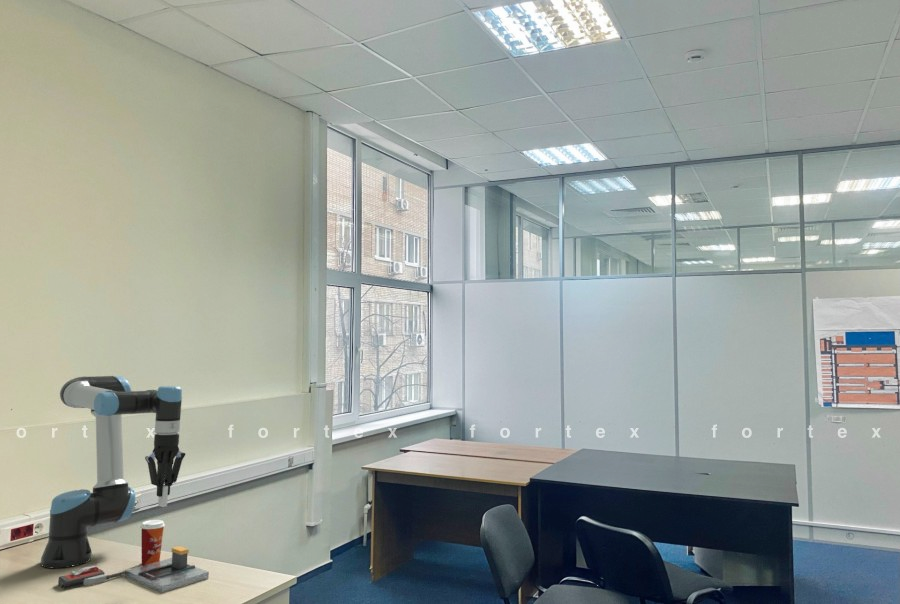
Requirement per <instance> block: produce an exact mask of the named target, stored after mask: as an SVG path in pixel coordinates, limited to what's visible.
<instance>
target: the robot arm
mask: <svg viewBox="0 0 900 604" xmlns="http://www.w3.org/2000/svg"><path fill="white" fill-rule="evenodd" d="M182 391H183V390H182V388H181V387H180V386H178V385H177V386H176V385H175V386H174V385H163V386H158V388H157V390H156V389H147V390H136V391H135V390H133V391H132V388H131V385H130V382H129V380H127V378H125V377H123V376H117V375H114V376H113V375H105V376H101V375H100V376H97V375H96V376H79V377H74V378H73V379H72V378H71V379H70V380H68V381H66V382H65V384H63V385H62V387H61V389H60V391H59V398H60V400H61V403H63V404H64V405H66V406H67V407H68V408H75V409H89V410H90V413H91V415H92V416H93V417H95V441H96V442H95V445H96V446H95V448H96V474H97V475H96V481H97V482H96V483H95V485H94V486H93V487H92V492H91V491H90V489H76V490H75V489H74V490H70V491H66V492H62V493H60V494H58V495H56V496H55V497H54V498H53V499H52V501H51V504H50V505H51V506H50V510H49V525H48V526H49V527H48V541H47V544H46V546H45V548H44V550H43V552H42V554H41V555H42V556H41V558H40V566H41V565H43V566H45V567H53V568H52V569H59V568H58V567H65V568H68V567H67V566H72V565H76V566H78V565H77V564H80V565H82V564H81V563H83V564H85V563H84V562H86V561H88V560H89V559H90V560H91V559H92V556H93V553H92V548H91V543H90V541H89V538H88V529H89V528H90V527H97V526H101V525H108V524H112V523H114V524H115V523H116V524H117V523H118V522H122V521H125V520H127V519H129V517H131V515H132V514H133V512H134V510H135V509H134V508H135V506H136V492H135V490H134V488H133V487H130V486H129V482H128V481H127V480H126V479H125V478H124V454H123V452H124V451H123V424H122V415H138V414H155V420H154V421H155V424H154V433H155V434H154V436H153V437H154V440H153V447H154V448H153V449H152V453H151V454H150V455H146V456H145V457H144V459H145V461H146V463H147V467H148V468H147V469H148V472H149V479H150V484H151V485H153V486H156V496H157V497H158V502H157V503H158V504H157V506H158V507H161V508H165V507H168V496H169V495H170V493H171V487H172V486H173V484H174V483H175V484H176V482H177V480H178V477H179V473H180V469H181V466H182V463H183V460H184V458H185V456H186V453H185V452H182V451H181V450H180V448H179V443H180V434H179V432H180V426H181V425H180V424H181V414H182V413H181V412H182V403H183V402H182V400H183V396H182V395H183V393H182ZM90 560H89V561H90ZM89 561H88V562H89ZM86 563H87V562H86ZM45 567H44V568H45ZM72 567H73V566H72Z"/></svg>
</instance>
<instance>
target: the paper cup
mask: <svg viewBox="0 0 900 604" xmlns="http://www.w3.org/2000/svg"><path fill="white" fill-rule="evenodd" d="M165 526H166V524H165V521H164V520H162V519H148V520H145V521H142V523H141V526H140V528H141V566H144V565H147V564H151V563H155V562H158V561H161V554H162V553H161V552H162V545H163V536H164V527H165Z"/></svg>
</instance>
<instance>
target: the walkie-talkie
mask: <svg viewBox="0 0 900 604" xmlns="http://www.w3.org/2000/svg"><path fill="white" fill-rule="evenodd" d="M105 573H106V572H105V571H104V570H103V569H100V568H99V567H98V566H96V565H90V566H86V567H81V568H80V569H79V570H78V571H73V570H72V571H71V572H70V573H69V574H66V575H65V574H64V575H62V576H58V582H57V583H58V584H57V586H58V587H60V588H61V589H64V590H70V589H74V588H78V587H82V586H84V585H87V586H94V585H93V584H95V585H98V584H97V583H99V584H102V583H101V582H103V583H106V582H105V581H107V580H109V579H113V578H116V577H120V576H122V575H125V571H121V572H120V571H119V572H116V573H113V574H107V575H106V574H105ZM81 585H82V586H81Z"/></svg>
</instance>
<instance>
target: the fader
mask: <svg viewBox="0 0 900 604" xmlns="http://www.w3.org/2000/svg"><path fill="white" fill-rule="evenodd" d="M188 554H189V548H186V547H183V546H180V545H178V546H174V547H171V555H172V556H171V558H172V567H174V568H177V569H182V568H185V567H187V564H188Z"/></svg>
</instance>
